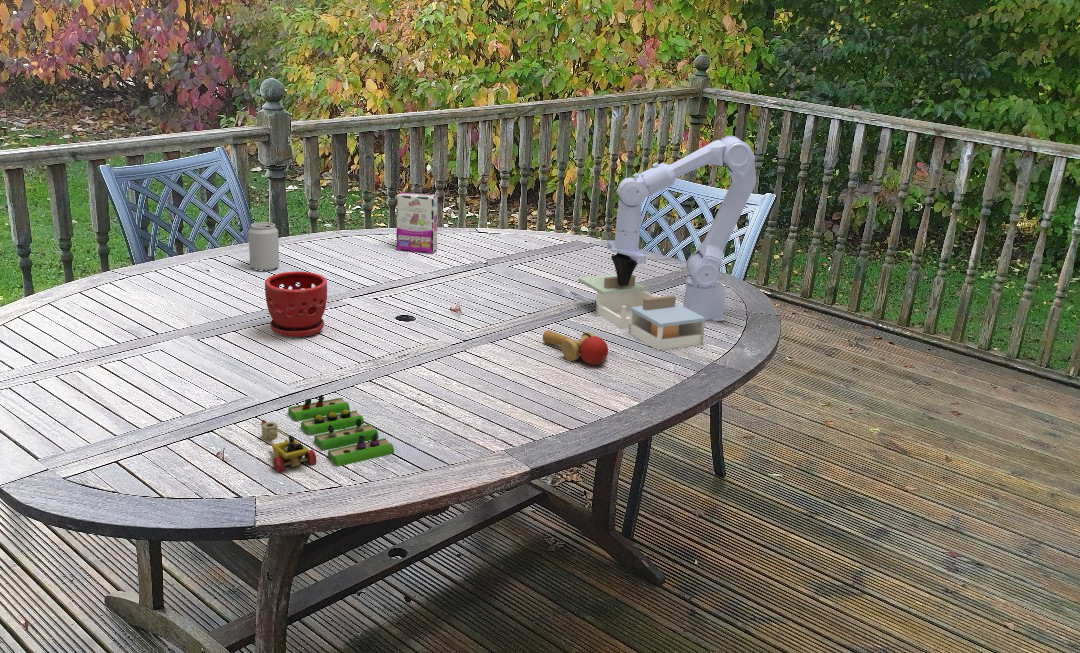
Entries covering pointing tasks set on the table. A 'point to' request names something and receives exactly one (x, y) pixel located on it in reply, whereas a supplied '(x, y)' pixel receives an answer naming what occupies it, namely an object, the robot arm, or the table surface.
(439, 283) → the table surface
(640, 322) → the crate
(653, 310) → the lid
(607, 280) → the lid
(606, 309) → the crate
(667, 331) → the block
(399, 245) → the candy bar box
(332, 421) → the toy garden set
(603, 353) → the kendama
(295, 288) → the plant pot
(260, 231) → the can
